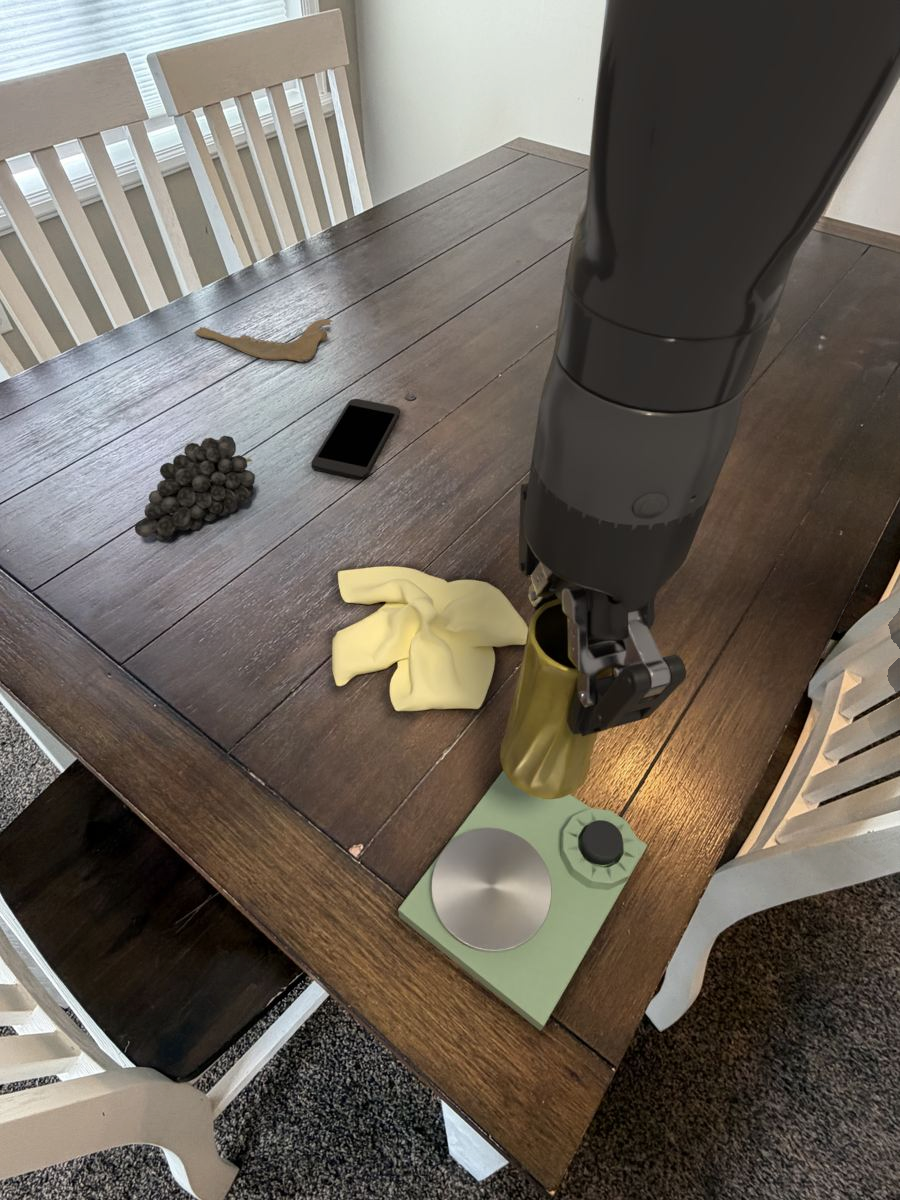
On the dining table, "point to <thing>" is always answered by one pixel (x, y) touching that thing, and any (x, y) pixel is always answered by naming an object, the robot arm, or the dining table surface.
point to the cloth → (425, 636)
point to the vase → (546, 713)
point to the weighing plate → (491, 890)
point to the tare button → (601, 842)
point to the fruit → (197, 488)
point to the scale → (576, 903)
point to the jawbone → (275, 343)
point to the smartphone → (356, 439)
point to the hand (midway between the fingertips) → (565, 682)
